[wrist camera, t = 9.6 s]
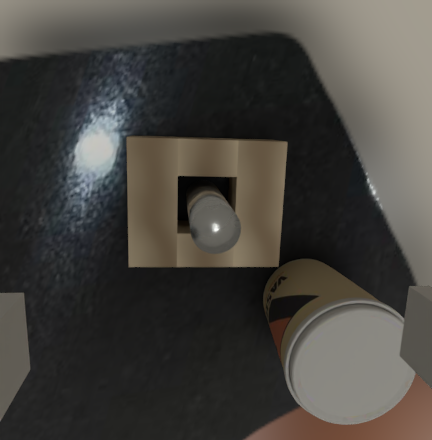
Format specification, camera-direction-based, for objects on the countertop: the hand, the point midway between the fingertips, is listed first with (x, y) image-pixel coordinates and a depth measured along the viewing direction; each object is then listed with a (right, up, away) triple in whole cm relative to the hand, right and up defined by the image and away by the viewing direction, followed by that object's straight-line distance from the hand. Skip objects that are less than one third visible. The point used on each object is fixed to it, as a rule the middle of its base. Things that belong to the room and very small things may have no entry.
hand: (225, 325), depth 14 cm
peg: (-1, +6, +22) cm, 23 cm away
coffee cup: (+8, -4, +25) cm, 27 cm away
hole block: (-1, +6, +22) cm, 23 cm away
